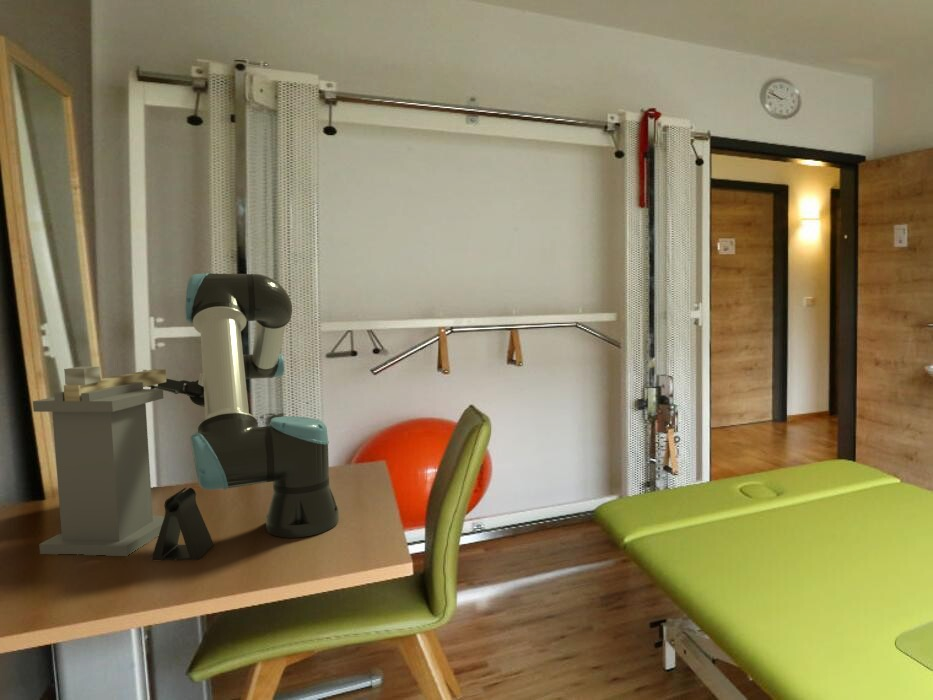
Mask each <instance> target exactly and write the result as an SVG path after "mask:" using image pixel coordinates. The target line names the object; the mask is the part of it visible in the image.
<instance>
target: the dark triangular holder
mask: <svg viewBox="0 0 933 700" xmlns="http://www.w3.org/2000/svg"><path fill="white" fill-rule="evenodd" d="M196 497H197V493H196V491H195V489H193V488H192V487H189V488H186V487H184V488H182V489H181V490H179V491H178V492H176V493H175V494H173V495H171V496H170V497H169V498H167V499H166V500H165V501H164V506H163V507H164V511H165V513H164V516H165V517H164V520H163V523H162V527H161V530H160V533H159V536H158V537H157V538H156V543H155V547H154V550H153V553H152V556H151V560H152V561H153V560H161V561H198V560H200V559H201V558H202V557H203V556H204V555H205V554H206V553H207V552H208V551H210V549H212V547H214V541H213V539H212V536H211V534H210V532H209V530H208V527H207V525H206V523H205V522H206V521H205V520H204V519H203V518H204V517H203V516H202V513H201V511H200V509H199V506H198V504H197V501H196V499H197V498H196ZM181 535H182V537H183V541H184V544H179V539H180V536H181ZM175 559H176V560H175Z"/></svg>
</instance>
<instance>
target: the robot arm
mask: <svg viewBox="0 0 933 700" xmlns="http://www.w3.org/2000/svg"><path fill="white" fill-rule="evenodd" d="M185 292H186V293H185V320H186V322H187V323H191V324H192V326H193V328H194V329H195V330H196V331H197V332H198V333H199V334H200V343H201V344H200V345H201V346H200V347H201V361H202V362H201V363H202V372H200V373H199V377H198V379H197V380H196V381H194V380H192V381H188V380H184V379H183V380H175V379H170V378H166V382H164V383H160V384H155V385H151V386H146V387H147V388H149V389H163V392H164V391H165V392H169V393H173V394H174V395H178V394H179V395H180V394H181V395H186V396H188V398H189V399H190V401H191V402H192V403H193V404H195V405H196V406H198V407H202V408H204V413H205V414H204V416H205V417H204V419H203V420H201V422H199V424H198V426H197V432H195V433H192V434H191V435H190V438H189V439H190V445H191V451H192V457H193V463H194V467H195V468H194V469H195V473H196V477H197V482H198V485H199V486H200V487H201V489H202V490H204V491H205V490H206V491H215V490H224V491H225V490H228V489H232V488H238V487H239V488H240V487H245V486H253V485H260V484H266V483H273V484H272V485H273V487H272V488H273V491H272V492H273V493H272V497H271V500H270V504H269V508H268V511H267V515H266V518H265V523H266V524H265V527H266V531H267V533H269V534H271V536H272V535H273V536H275V537H280V538H291V539H292V538H304V537H311V536H314V535H319V534H321V533H324V532H327V531H329V530H331V529H332V528H334V527H335V526H337V524H338V523H339V521H340V520H339V519H340V516H339V514H340V512H339V507H338V505H337V503H336V499H335V498H334V497H335V496H334V495H333V491H332V489H331V487H330V468H329V467H330V461H329V443H330V440H329V438H328V437H329V436H328V435H329V434H328V428H327V425H326V424H325V423H324V422H323V421H321V420H320V419H317V418H312V417H307V416H306V417H305V416H290V415H289V416H288V415H285V416H277V417H276V416H275V417H272V418H271V419H270V422H269V425H267V426H259V425H258V419H257V418H256V416H254V415H253V414H251V413H249V411H250V410H249V409H250V408H249V403H248V402H249V401H248V391H247V381H246V380H251V379H253V380H254V379H273V378H278V377H280V378H281V377H282V376H283V375H285V358H284V354H282V353H280V352H281V348H282V345H283V344H282V343H283V338H284V333H285V329H286V326H288V324H289V323H290V321H291V318H292V315H293V303H292V300H291V298H290V296H289V294H288V292H287V291H286V290H285V288H284V287H283V286H282V285H281V284H280V283H278V282H277V281H276V280H274V279H273V278H271V277H269V276H266V275H263V274H259V273H247V274H246V273H211V272H207V273H195V274H192V275H190V277H189V278H188V280H187V286H186V291H185ZM254 321H255V328H254V329H255V331H254V338H253V339H254V340H253V346H252V347H253V348H252V354H251V353H250V354H244V351H243V341H242V331H243V330H244V329H245V328H246V326H247V322H254ZM142 371H148V370H147V369H143V370H142Z"/></svg>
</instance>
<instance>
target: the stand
mask: <svg viewBox="0 0 933 700" xmlns="http://www.w3.org/2000/svg"><path fill="white" fill-rule="evenodd" d="M53 395H54V396H51V397H47V398H42V399H37V400H33V401H32V409H33V412H35V413H36V412H37V413H38V412H43V413H45V412H47V413H48V412H49V413H52V422H53V423H52V424H53V425H52V426H53V438H54V440H53V441H54V449H55V450H54V451H55V453H54V454H55V463H56V465H55V467H56V477H57V479H56V480H57V489H58V490H57V491H58V502H59V503H58V504H59V505H58V506H59V516H60V517H59V518H60V530H61V533H60V532H59V533H58V534H56V535H54V536H52V537H51V538H49V539H47V540H44V541H42V542H41V543H40V542H39V544H38V546H39V547H38V548H39V555H58V554H77V555H76V556H79V555H78V554H84V555H83V556H96V555H106V556H107V557H129V556H130V555H132V554H133V553H135V552H136V551H138V550H139V549H141V548H143V547H144V546H145V545H144V544H146V543H147V544H148V542H149V543H151V542H152V541H153V540H155V539H156V538H158V537H157V536H158V535H159V533H160V530H161V527H162V523H163V520H164V517H165V515H153V501H152V487H151V486H152V484H151V483H152V482H151V470H150V453H149V438H148V437H149V436H148V434H149V433H148V423H147V422H148V419H147V407H146V405H147V404H148V403H151V402H155V401H158V400H159V401H160V400H163V399H164V390H163V389H156V388H154V389H150V388H144V387H143V382H134V383H129V384H125V385H120V386H115V387H110V388H105V389H100V390H95V391H90V392H85V393H81V400H82V401H65V398H64V391H59V392H55V393H53ZM155 537H156V538H155ZM154 538H155V539H154ZM152 539H153V540H152ZM151 540H152V541H151ZM147 544H146V545H147ZM143 545H144V546H143ZM142 546H143V547H142ZM140 547H141V548H140ZM138 548H139V549H138ZM137 549H138V550H137ZM135 550H136V551H135ZM134 551H135V552H134ZM132 552H133V553H132ZM131 553H132V554H131ZM129 554H130V555H129ZM128 555H129V556H128ZM106 556H105V557H106Z"/></svg>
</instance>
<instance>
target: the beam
mask: <svg viewBox="0 0 933 700" xmlns="http://www.w3.org/2000/svg"><path fill="white" fill-rule="evenodd" d="M63 372H64V383H65V384H63V392H64V398H65V401H82V400H81V393H85V392H90V391H95V390H100V389H105V388H110V387H115V386H120V385H125V384H129V383H134V382H143V388H146V387H147V386H151V385H155V384H160V383H164V382H166V379H167V370H166V368H165V369H162V368H161V369H160V368H159V369H157V368H156V369H155V368H154V369H153V368H152V369H149V370H148V371H143V370H142V371H138V372H132V373H127V374H126V373H125V374H120V375H115V376H110V377H109V376H108V377H105V378H102V376H101V366H75V367H70V368H69V367H68V368H64V371H63Z"/></svg>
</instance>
